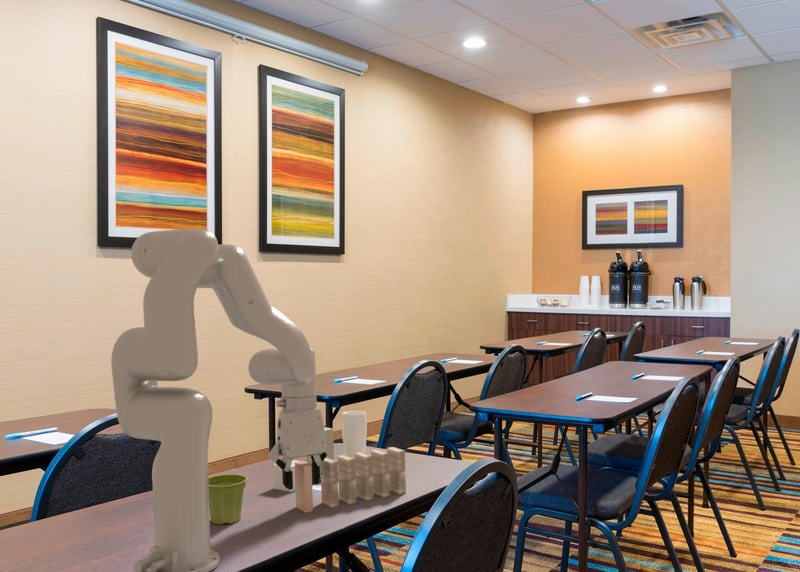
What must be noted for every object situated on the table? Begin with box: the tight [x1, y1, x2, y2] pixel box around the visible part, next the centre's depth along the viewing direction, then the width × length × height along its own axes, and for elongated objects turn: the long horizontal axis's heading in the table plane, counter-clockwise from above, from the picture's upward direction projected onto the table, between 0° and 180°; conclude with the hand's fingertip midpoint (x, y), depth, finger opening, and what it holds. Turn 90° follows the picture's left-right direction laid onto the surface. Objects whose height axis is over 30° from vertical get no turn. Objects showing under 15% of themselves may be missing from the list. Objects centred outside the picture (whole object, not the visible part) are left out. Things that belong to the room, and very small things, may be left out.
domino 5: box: [370, 449, 391, 499], centre depth 177 cm, size 2×5×10 cm, turn 32°
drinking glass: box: [340, 410, 368, 459], centre depth 203 cm, size 7×7×15 cm
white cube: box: [272, 459, 308, 493], centre depth 186 cm, size 6×6×6 cm
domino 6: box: [386, 446, 407, 495], centre depth 179 cm, size 2×5×10 cm, turn 32°
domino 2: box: [320, 458, 340, 509], centre depth 170 cm, size 2×5×10 cm, turn 32°
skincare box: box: [306, 426, 335, 476], centre depth 197 cm, size 6×4×12 cm
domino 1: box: [294, 460, 314, 513], centre depth 167 cm, size 2×5×10 cm, turn 32°
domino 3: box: [337, 454, 357, 505], centre depth 172 cm, size 2×5×10 cm, turn 32°
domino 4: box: [355, 452, 374, 502], centre depth 175 cm, size 2×5×10 cm, turn 32°
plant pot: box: [208, 473, 249, 525], centre depth 161 cm, size 9×9×9 cm
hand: (301, 485), depth 166 cm, fingers open, 5 cm apart
